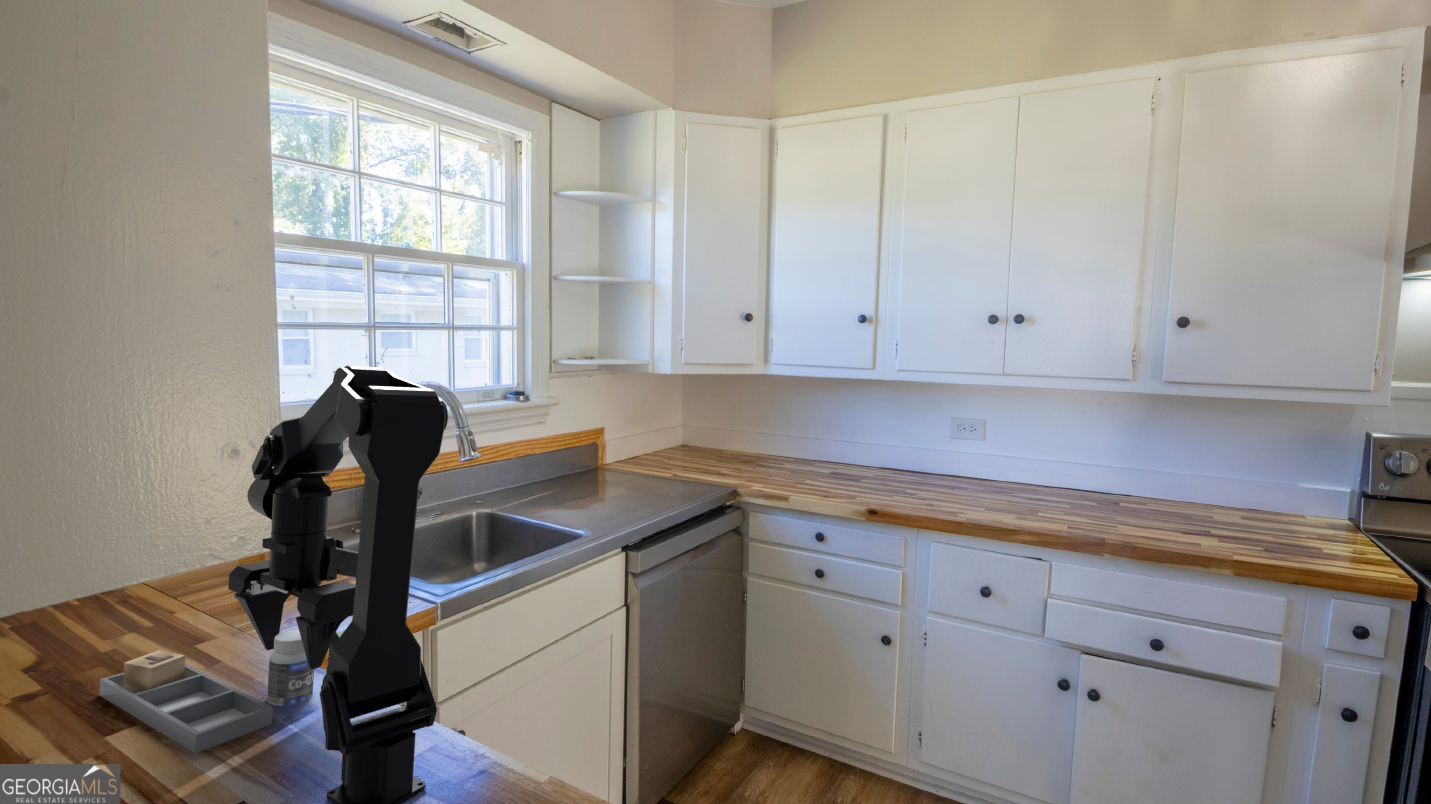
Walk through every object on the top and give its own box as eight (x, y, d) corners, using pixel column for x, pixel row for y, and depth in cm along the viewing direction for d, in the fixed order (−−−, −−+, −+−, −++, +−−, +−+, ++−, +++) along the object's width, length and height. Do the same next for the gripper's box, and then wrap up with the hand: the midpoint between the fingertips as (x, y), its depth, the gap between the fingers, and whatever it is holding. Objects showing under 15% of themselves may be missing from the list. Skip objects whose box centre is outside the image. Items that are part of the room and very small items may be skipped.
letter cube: (183, 688, 83) (185, 654, 83) (149, 702, 79) (151, 667, 79) (157, 682, 84) (159, 649, 84) (122, 696, 80) (124, 661, 80)
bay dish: (271, 731, 77) (272, 706, 76) (194, 762, 70) (196, 735, 70) (174, 680, 87) (175, 658, 87) (99, 702, 80) (100, 679, 80)
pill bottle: (291, 716, 80) (294, 645, 80) (256, 709, 81) (260, 639, 81) (321, 698, 85) (325, 631, 85) (289, 692, 86) (292, 625, 86)
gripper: (409, 532, 85) (402, 656, 85) (318, 509, 94) (312, 622, 94) (321, 548, 75) (314, 688, 76) (229, 521, 84) (222, 647, 84)
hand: (292, 658), depth 83 cm, fingers open, 9 cm apart
